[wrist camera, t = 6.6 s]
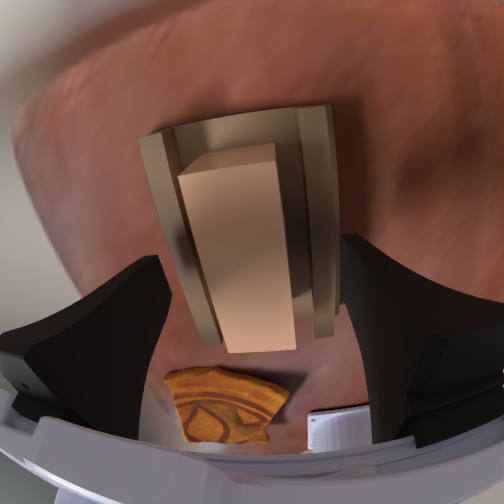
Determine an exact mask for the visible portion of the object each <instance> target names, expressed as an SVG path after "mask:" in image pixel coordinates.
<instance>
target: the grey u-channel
mask: <svg viewBox="0 0 504 504" xmlns="http://www.w3.org/2000/svg"><path fill="white" fill-rule="evenodd" d="M138 141H139V146H140V150H141V154H142V158H143V161H144V165H145V169H146V173H147V177H148V180H149V184H150V188H151V191H152V195H153V198H154V202H155V205H156V208H157V212H158V215H159V219H160V222H161V225H162V228H163V232H164V235H165V238H166V241H167V244H168V247H169V250H170V253H171V256H172V259H173V262H174V265H175V268H176V271H177V274H178V277H179V280H180V283H181V285H182V288H183V291H184V294H185V296H186V299H187V302H188V305H189V307H190V310H191V313H192V315H193V318H194V320H195V323H196V326H197V328H198V331H199V333H200V336H201V338H202V341H203V343H204V345H222V340H223V334H222V331H221V328H220V324H219V321H218V318H217V315H216V312H215V309H214V305H213V302H212V299H211V296H210V292H209V289H208V286H207V282H206V279H205V276H204V272H203V269H202V265H201V262H200V258H199V255H198V251H197V248H196V244H195V241H194V237H193V233H192V230H191V226H190V222H189V218H188V215H187V211H186V207H185V203H184V199H183V195H182V191H181V187H180V183H179V179H178V175H180V174H181V173H182V172H183V171H184V170H185V169H186V168H187V167H188V166H190V165H191V164H192V163H193V162H194V161H195V160H196V159H197V158H199V157H200V156H201V155H202V154H204V153H209V152H215V151H221V150H227V149H233V148H240V147H246V146H253V145H261V144H269V143H275V149H276V156H277V163H278V170H279V178H280V185H281V193H282V201H283V209H284V217H285V226H286V234H287V243H288V252H289V262H290V271H291V281H292V291H293V303H294V319H295V321H296V320H306V319H313V324H314V332H315V338H323V337H332V336H334V325H335V316H339V304H340V212H339V189H338V173H337V159H336V146H335V136H334V126H333V116H332V108H331V104H318V105H305V106H294V107H284V108H276V109H267V110H260V111H253V112H246V113H240V114H234V115H228V116H223V117H217V118H212V119H207V120H202V121H198V122H193V123H189V124H184V125H180V126H176V127H172V128H168V129H164V130H160V131H156V132H152V133H149V134H146V135H144V136H143V137H141V138H139V139H138Z"/></svg>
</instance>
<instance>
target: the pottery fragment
mask: <svg viewBox="0 0 504 504" xmlns="http://www.w3.org/2000/svg"><path fill="white" fill-rule="evenodd" d="M164 382H165V383H166V384H167V385H168V386H169V388H170V390H171V394H172V396H173V401H174V404H175V407H176V410H177V414H178V416H179V418H180V422H181V427H182V433H183V438H184V440H186V441H187V442H189V443H198V442H217V443H223V444H230V443H236V444H246V443H250V442H256V443H267V442H270V437H269V435H268V433H267V430H268V427H269V425H270V422H271V420H272V418H273V417H274V415H275V414H276V413H277V411H278V410H279V409H280V408H281V406H282V405H283V404H284V403H285V401H286V400H287V399H288V397H289V395H290V392H289V391H288V390H286V389H284V388H282V387H280V386H279V385H277V384H274V383H271V382H268V381H264V380H261V379H259V378H256V377H253V376H249V375H245V374H239V373H235V372H231V371H226V370H223V369H220V368H218V367H209V368H190V369H184V370H182V371H178V372H174V373H169V374H167V375H166V376H165V377H164Z"/></svg>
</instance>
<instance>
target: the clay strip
mask: <svg viewBox="0 0 504 504" xmlns="http://www.w3.org/2000/svg"><path fill="white" fill-rule="evenodd" d="M178 179H179V183H180V187H181V191H182V195H183V199H184V203H185V207H186V211H187V215H188V218H189V222H190V226H191V230H192V233H193V237H194V241H195V244H196V248H197V251H198V255H199V258H200V262H201V265H202V269H203V272H204V276H205V279H206V282H207V286H208V289H209V292H210V296H211V299H212V302H213V305H214V309H215V312H216V315H217V318H218V321H219V324H220V328H221V331H222V334H223V337H224V340H225V343H226V346H227V349H228V352H229V353H243V352H263V351H279V350H292V349H296V336H295V319H294V303H293V291H292V281H291V271H290V262H289V252H288V243H287V234H286V226H285V217H284V209H283V201H282V193H281V185H280V178H279V170H278V163H277V156H276V149H275V143H269V144H261V145H253V146H246V147H240V148H233V149H227V150H221V151H215V152H209V153H204V154H202V155H201V156H200V157H199V158H197V159H196V160H195V161H194V162H193V163H192V164H191V165H190V166H188V167H187V168H186V169H185V170H184V171H183V172H182V173H181V174H180V175H178Z"/></svg>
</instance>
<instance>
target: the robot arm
mask: <svg viewBox="0 0 504 504" xmlns="http://www.w3.org/2000/svg"><path fill="white" fill-rule="evenodd" d="M340 281H341V286H342V291H343V296H344V301H345V304H346V307H347V310H348V313H349V316H350V319H351V322H352V325H353V328H354V331H355V334H356V337H357V340H358V344H359V347H360V351H361V355H362V359H363V365H364V371H365V377H366V384H367V391H368V398H369V405H365V406H359V407H353V408H346V409H338V410H330V411H321V412H312V413H309V414H308V449H313V453H309V454H294V455H263V456H255V455H224V454H210V453H198V452H189V451H181V450H177V449H172V448H168V447H163V446H159V445H155V444H152V443H147V442H142V441H138V435H139V434H138V433H139V419H140V410H141V403H142V397H143V391H144V385H145V381H146V376H147V372H148V367H149V364H150V361H151V357H152V355H153V352H154V349H155V347H156V344H157V342H158V339H159V336H160V334H161V331H162V329H163V326H164V323H165V321H166V318H167V315H168V312H169V308H170V303H171V299H172V292H171V289H170V287H169V284H168V281H167V279H166V276H165V273H164V271H163V268H162V265H161V262H160V260H159V257H158V255H149V256H144V257H142V258H140V259H138V260H137V261H135V262H134V263H132V264H131V265H129V266H128V267H126V268H125V269H124V270H122V271H121V272H119V273H118V274H117V275H115V276H114V277H113V278H111V279H110V280H108V281H107V282H106V283H104V284H103V285H101V286H100V287H98V288H97V289H96V290H94V291H93V292H91V293H90V294H88V295H87V296H85V297H84V298H82V299H80V300H79V301H77V302H75V303H74V304H72V305H70V306H69V307H67V308H65V309H63V310H61V311H59V312H57V313H55V314H53V315H51V316H49V317H46V318H44V319H42V320H40V321H37V322H34V323H32V324H29V325H26V326H24V327H21V328H17V329H14V330H10V331H7V332H4V333H3V334H1V335H0V372H1V373H2V375H3V376H4V377H5V378H6V379H7V380H8V381H9V382H10V384H11V385H12V386H13V387H14V388H15V389H16V390H17V391H18V394H17V396H16V397H14V396H13V395H12V394H10V393H9V392H6V391H4V390H2V389H0V451H1V452H2V453H4V454H5V455H6V456H8V457H9V458H11V459H12V460H14V461H15V462H17V463H18V464H19V465H21V466H22V467H24V468H26V469H27V470H29V471H30V472H32V473H34V474H35V475H37V476H39V477H40V478H42V479H44V480H46V481H47V482H49V483H51V484H53V485H54V486H56V487H58V488H59V490H58V493H57V496H56V499H55V503H54V504H458V503H460V502H462V501H464V500H466V499H469V498H471V497H473V496H475V495H477V494H479V493H481V492H483V491H485V490H487V489H489V488H490V487H492V486H494V485H496V484H498V483H499V482H501V481H503V480H504V387H503V385H504V373H503V369H504V303H500V302H496V301H491V300H486V299H482V298H478V297H475V296H471V295H468V294H465V293H461V292H459V291H456V290H453V289H450V288H448V287H445V286H443V285H440V284H438V283H436V282H433V281H431V280H429V279H427V278H425V277H423V276H421V275H419V274H417V273H415V272H413V271H412V270H410V269H408V268H406V267H405V266H403V265H402V264H400V263H398V262H397V261H395V260H394V259H392V258H391V257H389V256H388V255H386V254H385V253H383V252H382V251H380V250H379V249H378V248H376V247H375V246H373V245H372V244H371V243H369V242H368V241H366V240H365V239H364V238H362V237H361V236H359V235H358V234H356V233H355V234H345V235H340Z"/></svg>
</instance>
